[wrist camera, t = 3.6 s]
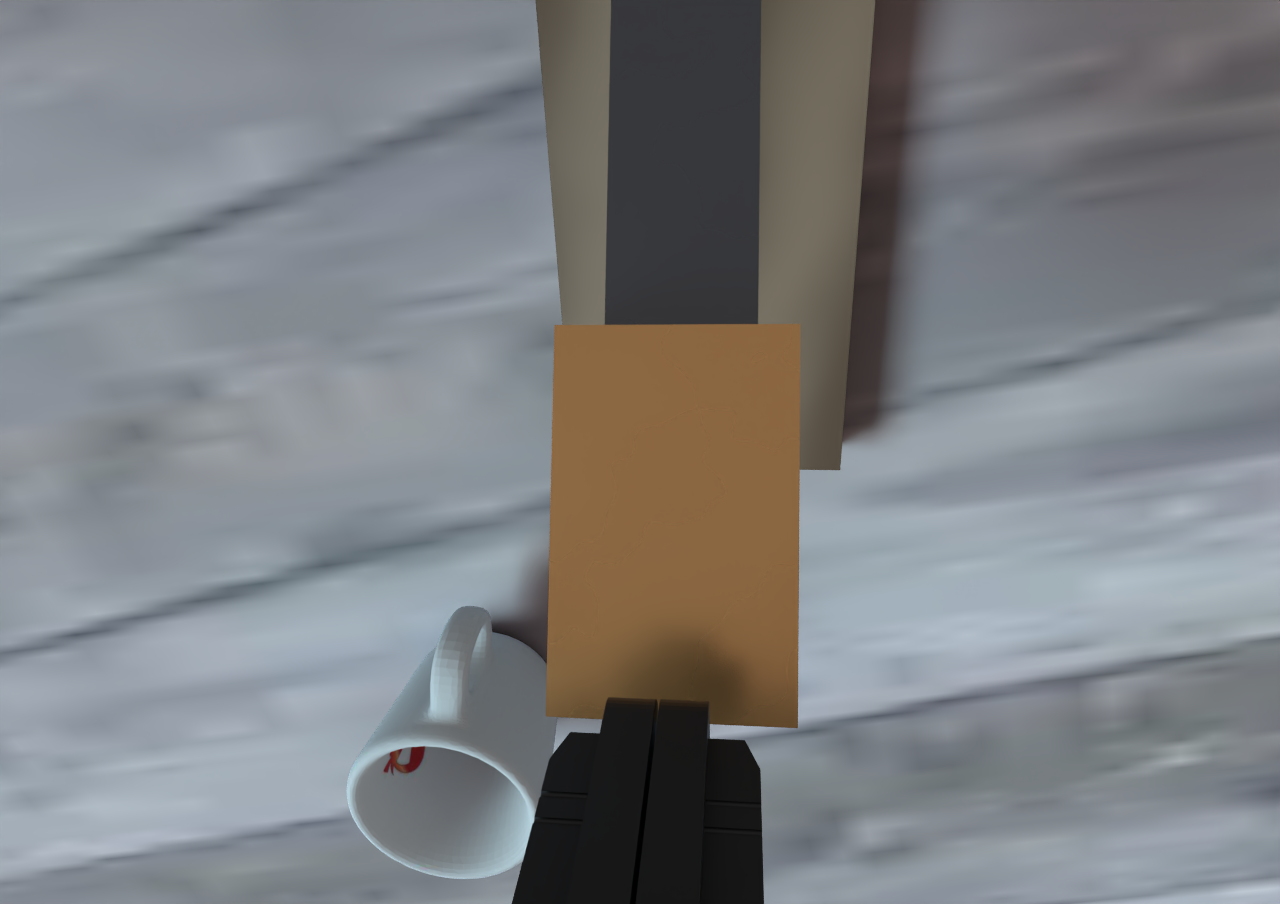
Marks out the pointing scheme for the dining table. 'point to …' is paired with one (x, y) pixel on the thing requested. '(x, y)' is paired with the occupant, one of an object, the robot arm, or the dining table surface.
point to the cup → (459, 756)
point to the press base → (788, 191)
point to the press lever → (678, 399)
